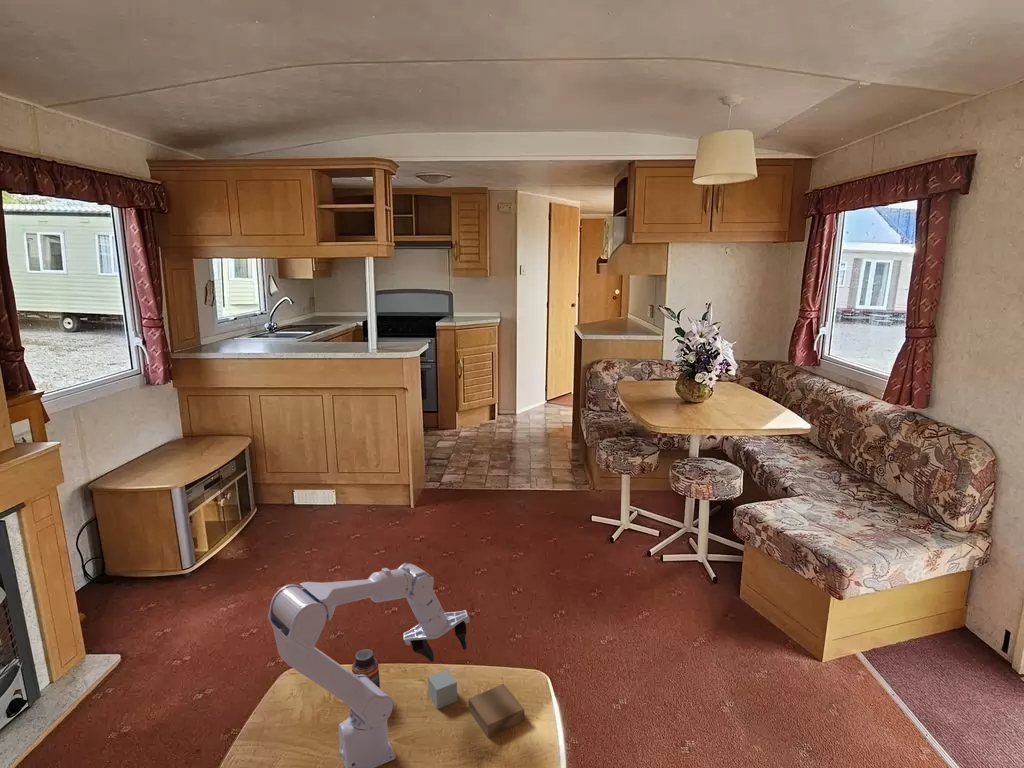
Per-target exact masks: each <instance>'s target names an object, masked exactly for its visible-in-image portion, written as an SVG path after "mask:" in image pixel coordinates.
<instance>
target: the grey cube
mask: <svg viewBox="0 0 1024 768" xmlns="http://www.w3.org/2000/svg"><path fill="white" fill-rule="evenodd" d="M427 685H428V686H427V688H428V689H427V690H428V697H429V698H430V700H431V702H432V704H433V705H434V707H435V708H436V710H438V709H441V708H444V707H446V706H448V705H451V704H453V703H456V702H458V683H457V680H456V678H454V676H453V674H452V673H451V672H450V670H449V669H445V670H443V671H440V672H437V673H434V674H432V675H430V676H427Z"/></svg>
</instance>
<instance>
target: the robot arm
mask: <svg viewBox="0 0 1024 768" xmlns="http://www.w3.org/2000/svg"><path fill="white" fill-rule="evenodd" d="M434 584H435V579H434V576H431V574H430V573H428V572H427V571H425V570H424V569H422V568H420V567H418V566H417V565H415V564H412V563H409V562H408V563H407V562H404V563H402V564H401V565H400V566H399V567H398V568H395V569H389V568H388V567H383V568H381V570H380V571H375V572H372V573H371V574H370V575H369V577H368V578H367V579H355V580H352V579H351V580H342V581H341V580H339V581H332V582H331V581H330V582H329V581H327V582H318V581H317V582H316V581H315V582H314V581H304V582H301V583H299V585H297V584H287V585H284V586H282V587H281V588H280V589H279V590H277V591H276V592H275V594H274V595H273V596H272V599H271V601H270V605H269V609H268V615H267V618H268V621H269V624H270V625H271V628H272V630H273V631H272V632H273V635H274V640H275V643H276V648H277V653H278V656H279V657H280V658H281V659H282V660H283V661H284V662H285V663H286V665H288V666H289V667H291V668H292V669H294V670H295V671H297V672H298V673H300V674H301V675H302V676H304V677H306V678H307V679H309V680H310V681H312V682H314V683H315V684H316V685H318V686H320V687H321V688H323V689H324V690H326V691H327V692H329V693H330V694H332V695H334V696H335V697H336V698H338V699H340V700H341V701H342V702H343V703H344V705H346V706H347V707H348V711H349V716H348V717H347V718H346V719H345V720H344V721H342V722H340V723H339V724H338V725H337V727H338V728H337V729H338V743H339V750H338V752H339V754H340V759H341V761H342V763H343V766H344V768H378V767H380V766H383V765H384V764H388V763H389V762H391V761H393V760H395V759H396V754H395V751H394V749H393V748H392V745H391V743H390V741H389V733H388V731H389V730H388V719H389V718H390V716H391V714H392V712H393V708H394V700H393V698H392V697H391V696H390V695H388V694H386V693H385V692H384V691H383V690H382V689H381V688H380V689H379V688H378V687H377V686H376V685H375V684H374V683H373V682H372V681H370V679H369V678H368V677H367V676H366V675H363V674H361V675H356V674H354V673H353V672H352V671H349V670H348V669H347V668H345V667H344V666H343V665H341V664H340V663H338V662H337V661H336V660H334V659H332V657H330V656H328V655H327V654H325V653H324V652H323V651H321V650H320V649H319V648H317V647H316V645H317V641H319V638H320V636H321V633H322V632H323V629H324V627H325V624H326V621H327V620H328V621H331V620H332V618H333V615H334V612H335V610H336V607H337V606H341V605H345V604H349V603H354V602H358V601H361V600H366V599H370V600H371V601H373V603H382V602H389V601H395V600H399V599H405V598H406V600H407V603H408V605H409V607H410V608H411V610H412V613H413V614H414V617H415V619H416V621H417V622H418V624H416V625H415V626H413V627H412V628H411V629H410V630H407V631H405V632H403V641H404V643H405V646H410V645H411V646H412V651H413V652H414V653H417V654H420V655H422V656H424V657H425V658H426V659H428V660H429V661H430V662H431V663H432V662H435V656H434V651H433V649H432V647H431V646H430V644H429V643H428V640H434V639H435V640H436V639H438V638H440V637H442V636H443V635H445V634H446V633H448V632H449V631H450V630H452V629H453V628H454V632H455V636H456V638H457V639H458V640H459V642H460V644H461V647H462V649H463V650H467V648H468V647H467V641H466V637H467V625H466V624H468V623H470V616H469V613H468V611H467V610H466V609H464V610H460V611H451V612H449V611H447V612H445V611H444V608H443V607H442V605H441V602H440V601H439V598H438V597H437V594H436V592H435V590H434Z"/></svg>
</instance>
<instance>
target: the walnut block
mask: <svg viewBox="0 0 1024 768" xmlns="http://www.w3.org/2000/svg"><path fill="white" fill-rule="evenodd" d="M468 712H469V714H471V716H472V717H473V719H474V720H475V722H476V723H477V724H478V726H479V727H480V729H481V731H482V732H483V733H484V735H485V736H486V737H487V739H489V738H491V737H493V736H497V734H500V733H502V732H504V731H507V730H508V729H511V728H513V727H515V726H517V725H519V724H521V723H523V722H525V708H524V706H522V705H521V702H519V700H517V698H516V697H515V696H514V695H513V693H512V692H511V691H510V689H508V688H507V686H506V685H505V684H504V683H502V684H499V685H498V686H495V687H493V688H490V689H489V690H485V691H483V692H481V693H479V694H475V695H474V696H471V697H469V698H468Z"/></svg>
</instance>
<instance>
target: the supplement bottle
mask: <svg viewBox="0 0 1024 768" xmlns="http://www.w3.org/2000/svg"><path fill="white" fill-rule="evenodd" d="M354 657H355V660H354V662H353V663H352V665H351V672H353V673H354V674H356V675H361V674H363V675H366V676H367V677H368V678H369V679H370V681H372V682H373V683H374V684H375V685H376V686H377V687H378V688H379V689H381V684H380V683H381V682H380V670H379V661H378V659H377V658H376V657H375V655H374V651H373V650H372V649H371V648H370V649H368V648H364V649H360V650H358V651H357V652H356V653H355V656H354Z"/></svg>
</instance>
